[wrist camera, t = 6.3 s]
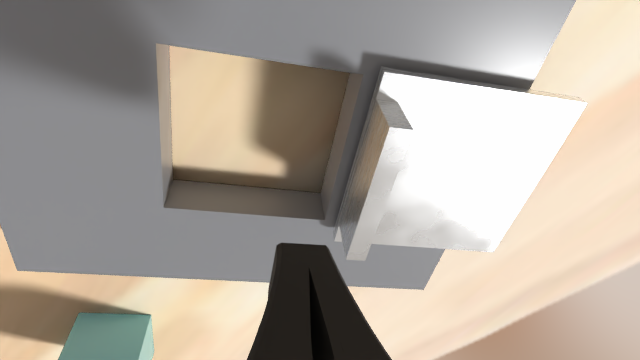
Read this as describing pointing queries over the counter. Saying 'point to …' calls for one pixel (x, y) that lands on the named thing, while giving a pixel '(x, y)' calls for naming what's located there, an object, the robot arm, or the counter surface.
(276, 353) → the robot arm
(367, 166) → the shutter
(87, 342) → the plug
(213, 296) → the counter surface
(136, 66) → the socket plate
